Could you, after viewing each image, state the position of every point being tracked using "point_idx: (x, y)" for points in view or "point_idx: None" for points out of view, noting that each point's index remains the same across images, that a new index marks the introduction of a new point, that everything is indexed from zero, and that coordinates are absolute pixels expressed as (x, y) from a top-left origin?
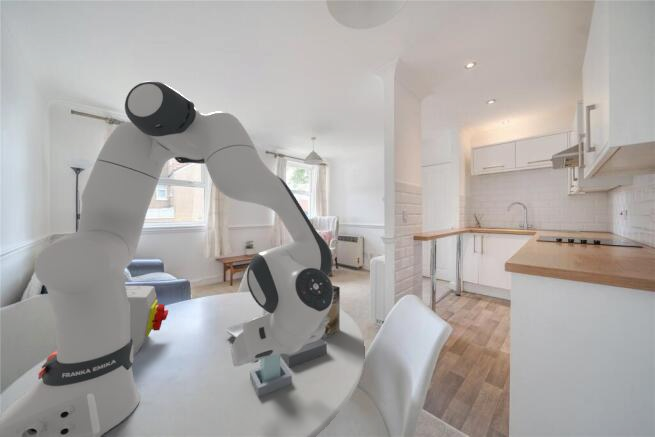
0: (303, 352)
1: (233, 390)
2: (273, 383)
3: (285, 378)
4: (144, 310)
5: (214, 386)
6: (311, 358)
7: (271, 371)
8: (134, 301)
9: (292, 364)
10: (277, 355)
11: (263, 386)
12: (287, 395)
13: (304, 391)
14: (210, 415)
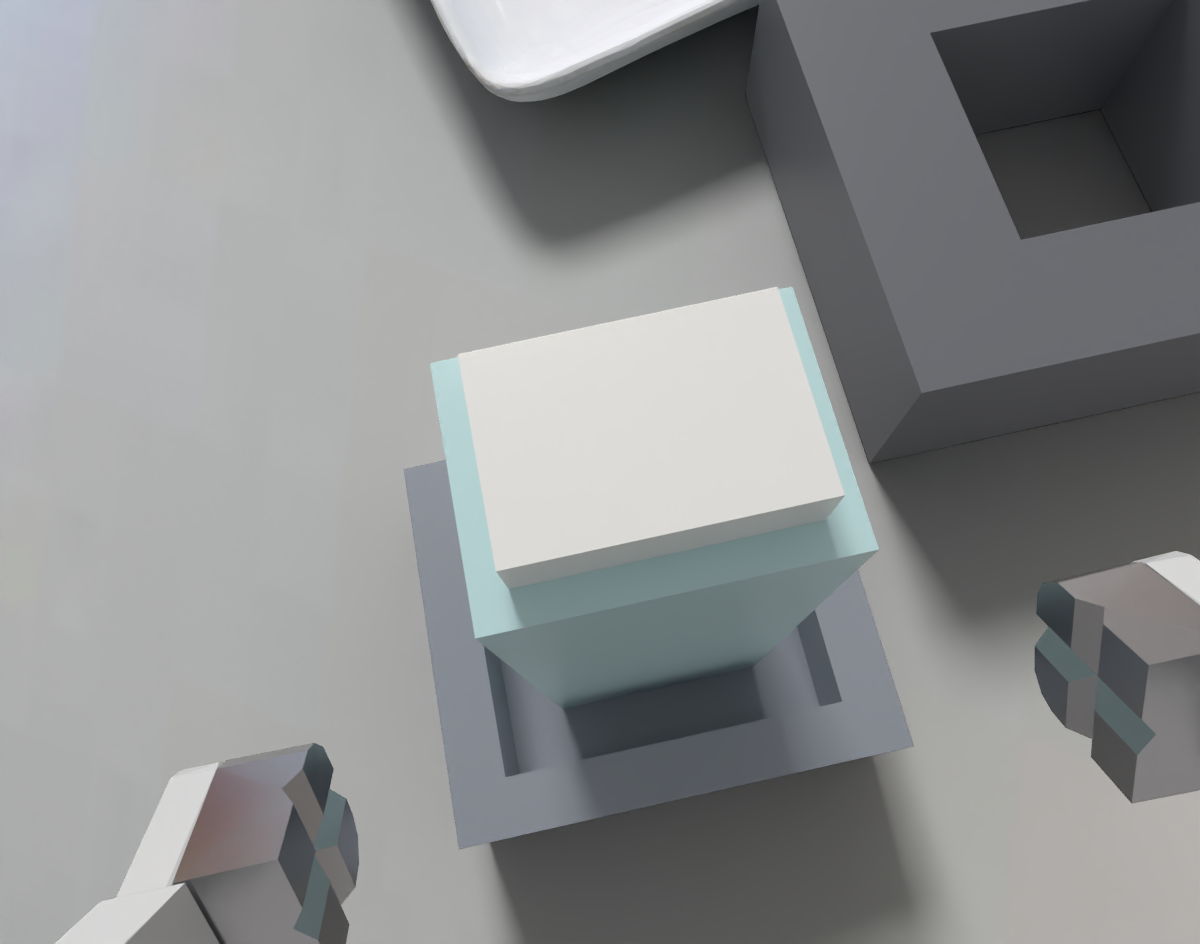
0: (1135, 352)
1: (269, 569)
2: (660, 803)
3: (823, 766)
4: None
5: (107, 446)
6: (1183, 378)
7: (647, 674)
8: None
9: (930, 429)
10: (762, 623)
11: (530, 830)
12: (810, 862)
13: (1015, 871)
14: (31, 855)
